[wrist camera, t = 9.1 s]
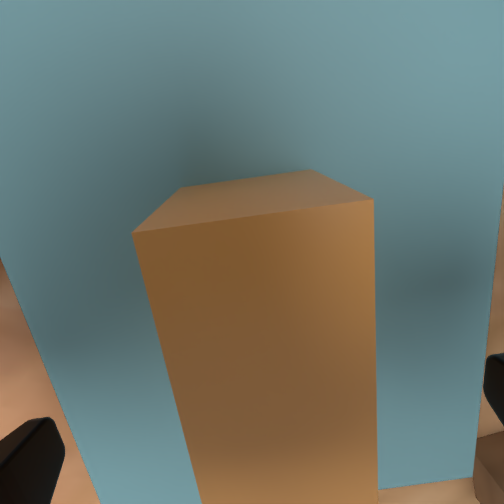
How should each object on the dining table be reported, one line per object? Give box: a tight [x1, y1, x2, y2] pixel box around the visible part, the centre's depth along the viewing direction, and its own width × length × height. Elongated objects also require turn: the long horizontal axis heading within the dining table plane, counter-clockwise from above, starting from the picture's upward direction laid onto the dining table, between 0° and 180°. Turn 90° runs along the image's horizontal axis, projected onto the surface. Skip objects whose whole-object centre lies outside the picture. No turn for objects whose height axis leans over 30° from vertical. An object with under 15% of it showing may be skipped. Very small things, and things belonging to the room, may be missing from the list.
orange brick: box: [131, 169, 378, 504], centre depth 9 cm, size 8×4×5 cm, turn 8°
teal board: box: [0, 0, 504, 504], centre depth 12 cm, size 20×16×2 cm
